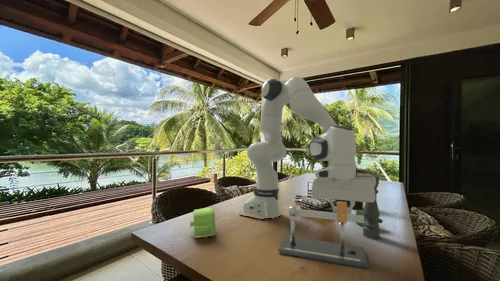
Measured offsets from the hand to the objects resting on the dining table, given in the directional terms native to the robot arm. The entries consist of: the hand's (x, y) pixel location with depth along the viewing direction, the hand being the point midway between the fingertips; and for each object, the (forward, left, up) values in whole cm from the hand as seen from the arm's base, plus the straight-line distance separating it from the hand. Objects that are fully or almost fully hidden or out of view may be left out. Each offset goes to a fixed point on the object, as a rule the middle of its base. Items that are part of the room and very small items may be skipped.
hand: (341, 212), depth 78 cm
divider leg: (0, 0, -13) cm, 13 cm away
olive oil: (+9, +65, -15) cm, 67 cm away
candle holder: (+12, +22, -15) cm, 29 cm away
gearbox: (-56, +1, -15) cm, 58 cm away
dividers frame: (-6, +2, -13) cm, 15 cm away
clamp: (+13, +34, -15) cm, 39 cm away
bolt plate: (-7, 0, -15) cm, 16 cm away
